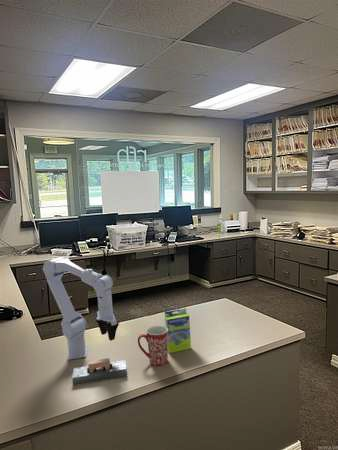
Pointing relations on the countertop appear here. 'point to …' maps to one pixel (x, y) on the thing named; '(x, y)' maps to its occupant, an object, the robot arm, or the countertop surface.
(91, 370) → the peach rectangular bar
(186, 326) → the box
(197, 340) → the countertop surface
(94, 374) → the gray slotted board
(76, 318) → the robot arm
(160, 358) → the mug
